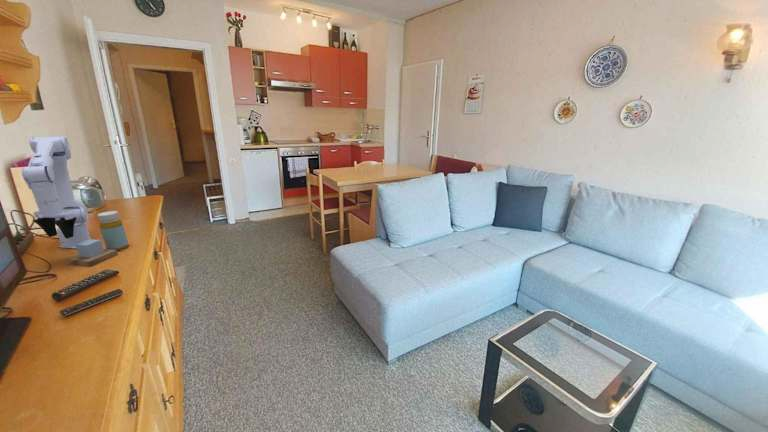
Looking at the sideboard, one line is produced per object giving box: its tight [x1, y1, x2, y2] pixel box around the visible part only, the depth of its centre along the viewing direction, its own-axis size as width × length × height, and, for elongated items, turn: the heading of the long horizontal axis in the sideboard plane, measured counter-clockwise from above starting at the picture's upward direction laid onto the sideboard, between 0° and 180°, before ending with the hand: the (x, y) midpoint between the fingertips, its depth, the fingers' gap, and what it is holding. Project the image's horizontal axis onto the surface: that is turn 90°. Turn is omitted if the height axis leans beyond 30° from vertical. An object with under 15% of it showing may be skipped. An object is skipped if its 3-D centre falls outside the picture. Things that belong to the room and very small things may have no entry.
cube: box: [75, 238, 105, 258], centre depth 116 cm, size 5×5×5 cm
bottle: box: [96, 210, 130, 252], centre depth 125 cm, size 7×7×15 cm
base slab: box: [66, 248, 119, 268], centre depth 117 cm, size 10×10×2 cm
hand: (61, 236), depth 113 cm, fingers open, 7 cm apart
